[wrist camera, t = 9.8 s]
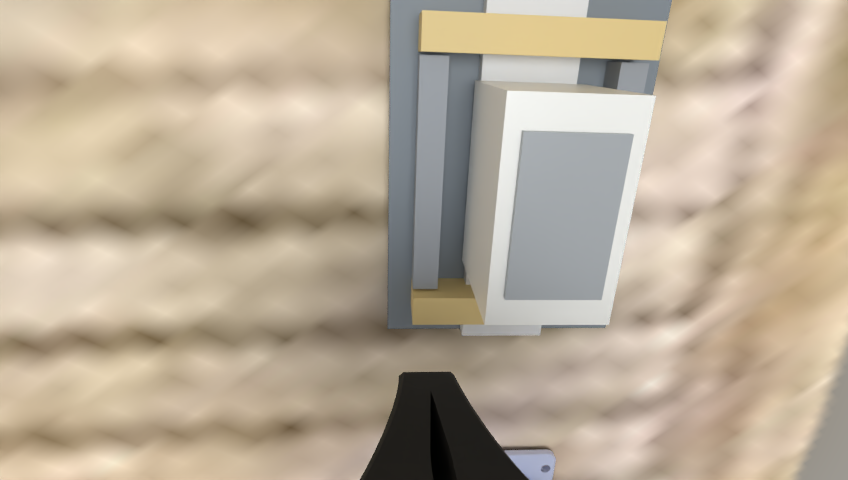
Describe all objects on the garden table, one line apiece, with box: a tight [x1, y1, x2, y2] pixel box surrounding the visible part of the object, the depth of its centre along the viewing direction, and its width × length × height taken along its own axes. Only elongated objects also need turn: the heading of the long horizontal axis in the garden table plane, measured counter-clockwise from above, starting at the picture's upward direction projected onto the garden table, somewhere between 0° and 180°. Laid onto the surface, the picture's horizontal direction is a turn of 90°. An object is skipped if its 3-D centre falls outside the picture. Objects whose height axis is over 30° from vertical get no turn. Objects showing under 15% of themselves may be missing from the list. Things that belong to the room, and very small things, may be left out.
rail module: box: [462, 80, 656, 325], centre depth 16 cm, size 7×4×5 cm, turn 178°
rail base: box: [388, 0, 672, 336], centre depth 18 cm, size 14×10×3 cm
